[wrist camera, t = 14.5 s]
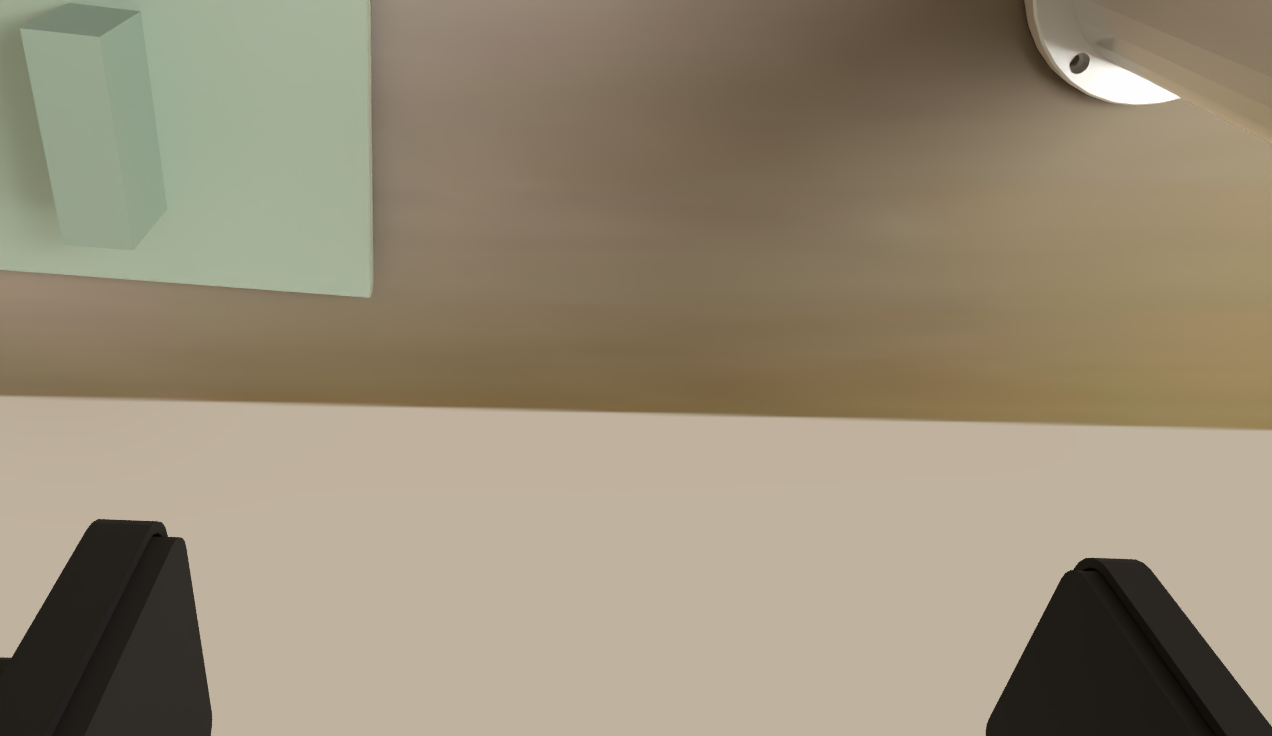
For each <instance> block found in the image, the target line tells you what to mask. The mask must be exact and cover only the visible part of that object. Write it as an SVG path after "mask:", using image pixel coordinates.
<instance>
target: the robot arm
mask: <svg viewBox="0 0 1272 736" xmlns="http://www.w3.org/2000/svg"><path fill="white" fill-rule="evenodd" d="M1024 2H1025V8H1026V15H1027V21H1028V26H1029V29H1030V31H1031V34H1032V36H1033V39H1034V41H1035V44H1036V46H1037V49H1038V51H1039V52H1040V53H1041V55H1042V56H1043V58H1044V59H1045V61H1046V62H1047V63H1048V65H1049V66H1050V68H1051V69H1052V70H1053V71H1054V72H1055V73H1057V74H1058V75H1059V76H1060V77H1061V78H1062V79H1064V80H1065V81H1066V82H1067V83H1068V84H1070V85H1071V86H1073V87H1075V88H1077V89H1079V90H1080V91H1082V92H1083V93H1085V94H1087V95H1089V96H1092V97H1094V98H1097V99H1100V100H1103V101H1105V102H1108V103H1113V104H1122V105H1130V106H1141V105H1153V104H1162V103H1166V102H1169V101H1173V100H1177V99H1181V98H1182V99H1184V100H1186V101H1188V102H1190V103H1192V104H1194V105H1196V106H1198V107H1200V108H1202V109H1204V110H1206V111H1208V112H1210V113H1212V114H1214V115H1216V116H1218V117H1220V118H1222V119H1224V120H1225V121H1227V122H1229V123H1231V124H1233V125H1235V126H1237V127H1239V128H1241V129H1243V130H1245V131H1247V132H1249V133H1251V134H1253V135H1255V136H1257V137H1259V138H1261V139H1263V140H1265V141H1267V142H1269V143H1271V144H1272V0H1024ZM1073 57H1074V59H1073V61H1072V62H1071V60H1072V58H1073ZM1070 62H1071V63H1070ZM211 728H212V711H211V705H210V698H209V692H208V685H207V679H206V673H205V666H204V659H203V653H202V646H201V640H200V634H199V627H198V620H197V614H196V607H195V601H194V594H193V588H192V581H191V575H190V569H189V562H188V556H187V550H186V545H185V541H184V540H183V538H179V537H168V535H167V532H166V528H165V526H164V525H163V524H162V522H157V521H130V520H106V519H103V520H102V519H98V520H96V521H94V522H93V523H92V524H91V525H90V526H89V528H88V529H87V530H86V532H85V533H84V535H83V537H82V539H81V541H80V542H79V544H78V545H77V547H76V549H75V551H74V552H73V554H72V556H71V557H70V559H69V561H68V563H67V564H66V566H65V568H64V569H63V571H62V573H61V575H60V576H59V578H58V580H57V581H56V583H55V585H54V586H53V588H52V590H51V592H50V593H49V595H48V597H47V598H46V600H45V602H44V604H43V605H42V607H41V609H40V611H39V612H38V614H37V615H36V617H35V619H34V621H33V622H32V624H31V626H30V627H29V629H28V631H27V633H26V634H25V636H24V638H23V640H22V641H21V643H20V645H19V647H18V648H17V650H16V652H15V653H14V655H13V657H12V658H0V736H211ZM986 736H1272V727H1271V725H1270V724H1269V723H1268V721H1267V720H1266V719H1265V718H1264V716H1263V715H1262V714H1261V713H1260V711H1259V710H1258V708H1257V707H1256V706H1255V705H1254V704H1253V702H1252V701H1251V699H1250V698H1249V697H1248V695H1247V694H1246V693H1245V692H1244V690H1243V689H1242V688H1241V686H1240V685H1239V684H1238V682H1237V681H1236V680H1235V679H1234V677H1233V676H1232V675H1231V673H1230V672H1229V671H1228V669H1227V668H1226V667H1225V666H1224V664H1223V663H1222V662H1221V660H1220V659H1219V658H1218V656H1217V655H1216V654H1215V653H1214V651H1213V650H1212V649H1211V647H1210V646H1209V645H1208V644H1207V642H1206V641H1205V640H1204V638H1203V637H1202V636H1201V634H1200V633H1199V632H1198V630H1197V629H1196V628H1195V627H1194V625H1193V624H1192V623H1191V621H1190V620H1189V619H1188V617H1187V616H1186V615H1185V614H1184V612H1183V611H1182V610H1181V608H1180V607H1179V606H1178V604H1177V603H1176V602H1175V601H1174V599H1173V598H1172V597H1171V595H1170V594H1169V593H1168V592H1167V590H1166V589H1165V588H1164V586H1163V585H1162V584H1161V582H1160V581H1159V580H1158V578H1157V577H1156V576H1155V575H1154V573H1153V572H1152V571H1151V570H1150V569H1149V568H1148V567H1147V566H1146V565H1145V564H1144V563H1142V562H1140V561H1138V560H1132V559H1106V558H1085V559H1083V560H1082V561H1080V562H1079V563H1078V564H1077V565H1076V567H1075V568H1074V570H1070V571H1068V572H1067V573H1065V574H1064V576H1063V577H1062V578H1061V580H1060V582H1059V584H1058V586H1057V588H1056V590H1055V592H1054V594H1053V596H1052V598H1051V600H1050V602H1049V604H1048V606H1047V608H1046V609H1045V611H1044V613H1043V615H1042V617H1041V619H1040V621H1039V623H1038V625H1037V627H1036V629H1035V631H1034V633H1033V635H1032V637H1031V639H1030V640H1029V642H1028V644H1027V646H1026V648H1025V650H1024V652H1023V654H1022V656H1021V658H1020V660H1019V662H1018V664H1017V666H1016V668H1015V670H1014V671H1013V673H1012V675H1011V677H1010V679H1009V681H1008V683H1007V685H1006V687H1005V689H1004V691H1003V693H1002V695H1001V697H1000V699H999V701H998V702H997V704H996V706H995V708H994V710H993V712H992V714H991V716H990V718H989V720H988V723H987V727H986Z"/></svg>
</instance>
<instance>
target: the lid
mask: <svg viewBox="0 0 1272 736" xmlns="http://www.w3.org/2000/svg"><path fill="white" fill-rule="evenodd" d="M0 270H10V271H23V272H36V273H49V274H62V275H76V276H89V277H102V278H115V279H129V280H142V281H155V282H168V283H181V284H195V285H208V286H221V287H234V288H248V289H261V290H274V291H287V292H300V293H314V294H327V295H340V296H353V297H367V298H370V297H371V294H372V291H373V197H372V101H371V5H370V0H0Z"/></svg>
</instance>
